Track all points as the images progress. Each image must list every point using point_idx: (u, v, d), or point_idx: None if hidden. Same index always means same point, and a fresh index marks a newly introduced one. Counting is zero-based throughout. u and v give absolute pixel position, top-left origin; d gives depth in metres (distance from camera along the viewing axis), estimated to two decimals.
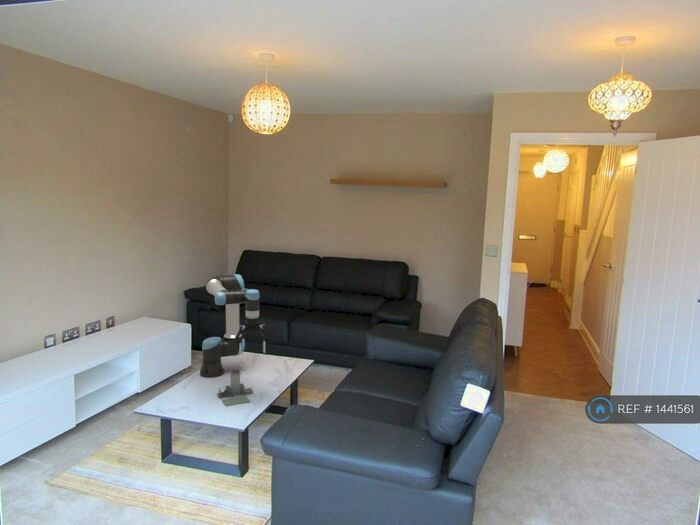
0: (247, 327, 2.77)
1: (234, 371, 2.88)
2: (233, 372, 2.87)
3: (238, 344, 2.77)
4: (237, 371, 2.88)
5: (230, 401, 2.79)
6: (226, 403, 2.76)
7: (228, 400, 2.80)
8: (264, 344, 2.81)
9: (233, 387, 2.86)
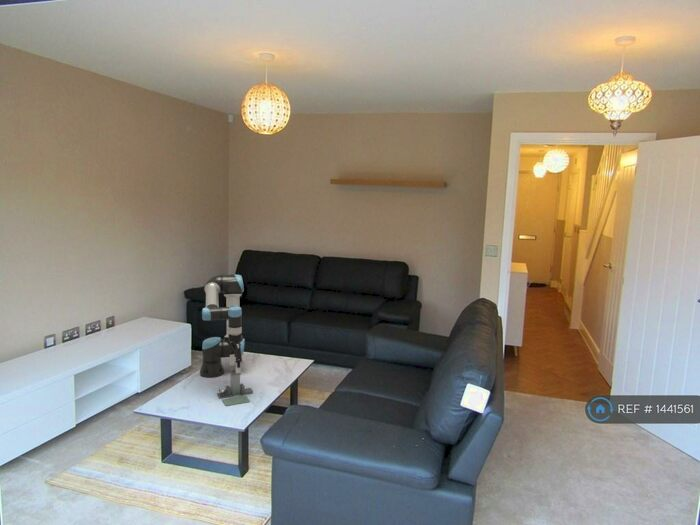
0: (231, 341, 2.87)
1: (234, 371, 2.88)
2: (233, 372, 2.87)
3: None
4: None
5: (230, 401, 2.79)
6: (226, 403, 2.76)
7: (228, 400, 2.80)
8: None
9: (233, 387, 2.86)
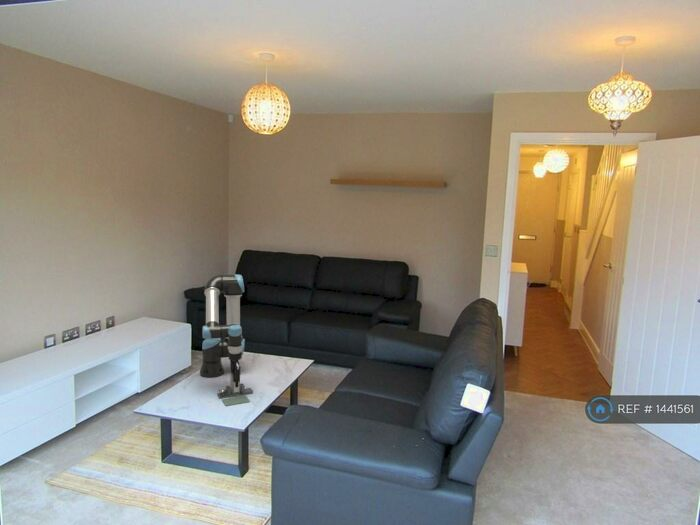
0: (232, 360, 2.89)
1: None
2: (233, 372, 2.87)
3: None
4: None
5: (230, 401, 2.79)
6: (226, 403, 2.76)
7: (228, 400, 2.80)
8: (234, 383, 2.86)
9: (233, 387, 2.86)
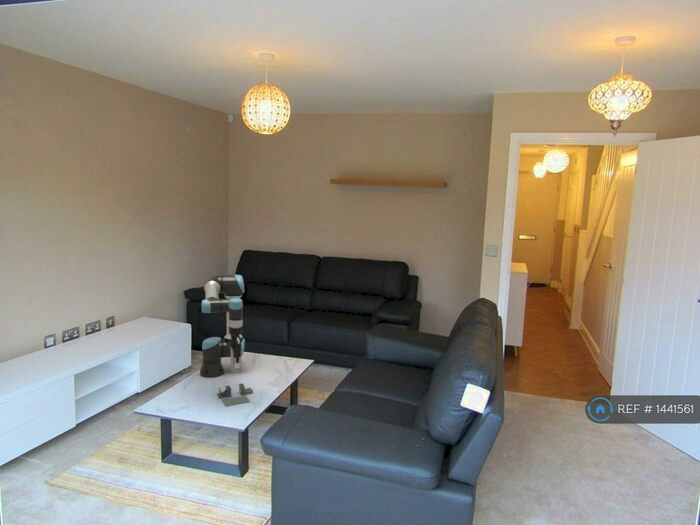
0: (232, 335, 2.77)
1: None
2: (233, 347, 2.75)
3: None
4: None
5: (230, 401, 2.79)
6: (226, 403, 2.76)
7: (228, 400, 2.80)
8: (234, 359, 2.74)
9: (233, 363, 2.74)
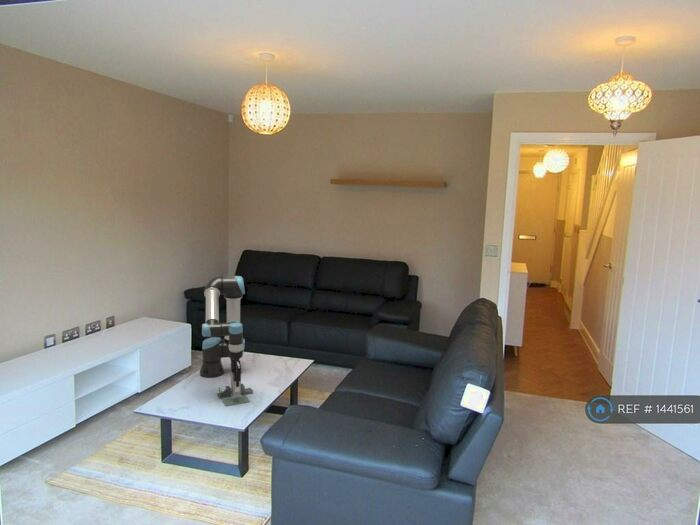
0: (232, 358, 2.79)
1: None
2: (233, 371, 2.77)
3: None
4: None
5: (230, 401, 2.79)
6: (226, 403, 2.76)
7: (228, 400, 2.80)
8: None
9: (233, 387, 2.76)
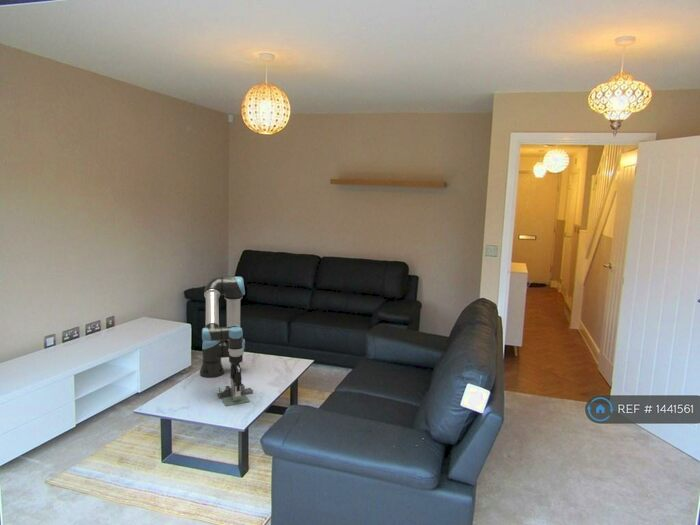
0: (232, 363, 2.80)
1: None
2: (233, 377, 2.78)
3: None
4: None
5: (230, 401, 2.79)
6: (226, 403, 2.76)
7: (228, 400, 2.80)
8: (235, 387, 2.75)
9: (233, 393, 2.77)
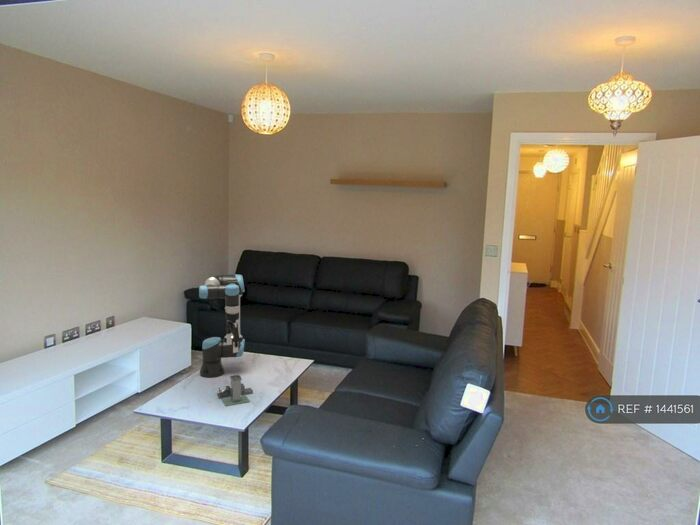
0: (229, 320, 2.79)
1: (235, 376, 2.79)
2: (233, 377, 2.78)
3: None
4: (238, 376, 2.79)
5: (230, 401, 2.79)
6: (226, 403, 2.76)
7: (228, 400, 2.80)
8: (233, 343, 2.73)
9: (233, 393, 2.77)
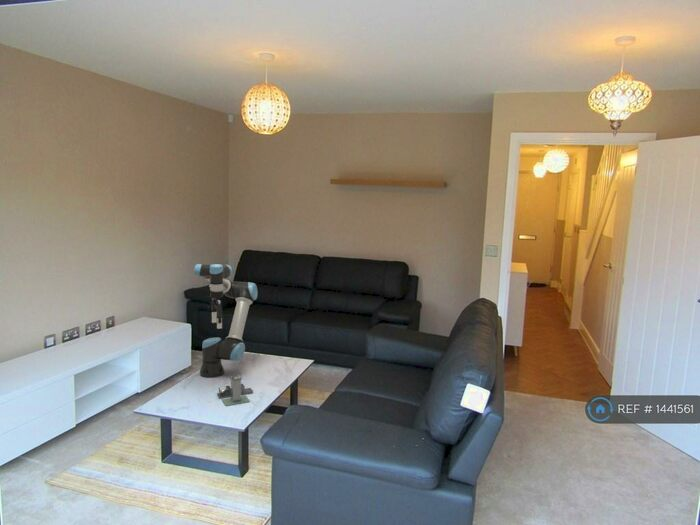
0: (213, 299, 2.93)
1: (235, 376, 2.79)
2: (233, 377, 2.78)
3: None
4: (238, 376, 2.79)
5: (230, 401, 2.79)
6: (226, 403, 2.76)
7: (228, 400, 2.80)
8: (217, 320, 2.86)
9: (233, 393, 2.77)
